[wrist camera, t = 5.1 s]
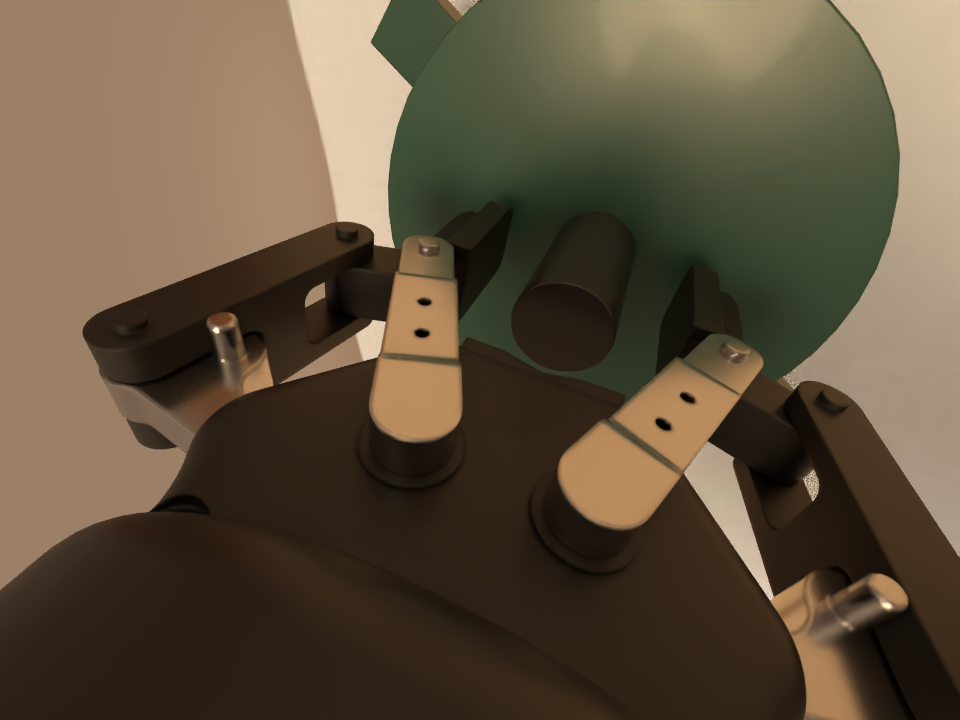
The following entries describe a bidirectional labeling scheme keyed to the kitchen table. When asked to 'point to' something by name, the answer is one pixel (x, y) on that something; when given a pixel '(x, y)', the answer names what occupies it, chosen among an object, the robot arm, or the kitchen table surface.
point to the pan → (421, 40)
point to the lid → (653, 171)
